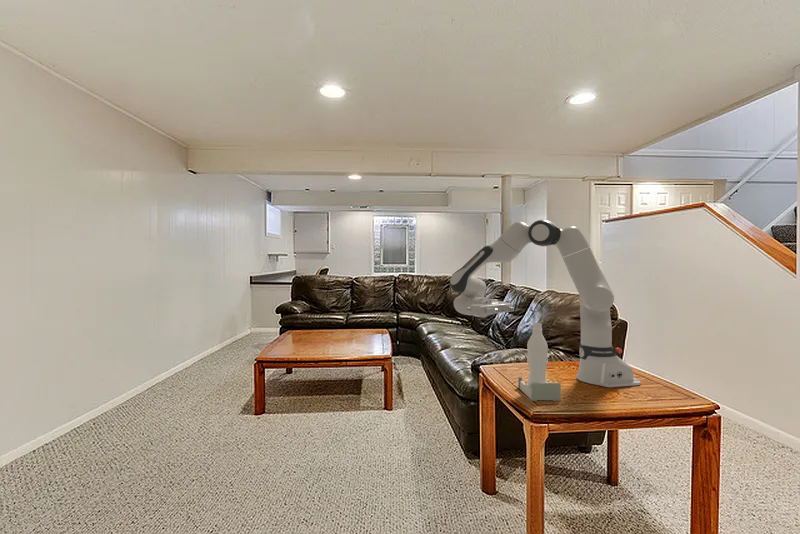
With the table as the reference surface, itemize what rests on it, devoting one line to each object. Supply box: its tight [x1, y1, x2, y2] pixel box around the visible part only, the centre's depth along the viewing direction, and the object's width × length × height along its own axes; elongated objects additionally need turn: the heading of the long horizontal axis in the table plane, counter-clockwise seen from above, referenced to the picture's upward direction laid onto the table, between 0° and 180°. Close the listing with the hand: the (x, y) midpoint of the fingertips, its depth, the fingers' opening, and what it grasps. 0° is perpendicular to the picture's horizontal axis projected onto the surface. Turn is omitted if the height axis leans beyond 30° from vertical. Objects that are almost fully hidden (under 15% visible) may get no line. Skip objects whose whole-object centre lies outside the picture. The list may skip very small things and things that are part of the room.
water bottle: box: [526, 322, 549, 389], centre depth 136 cm, size 7×7×25 cm
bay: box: [518, 376, 562, 402], centre depth 134 cm, size 10×14×6 cm
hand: (504, 310), depth 153 cm, fingers open, 8 cm apart
